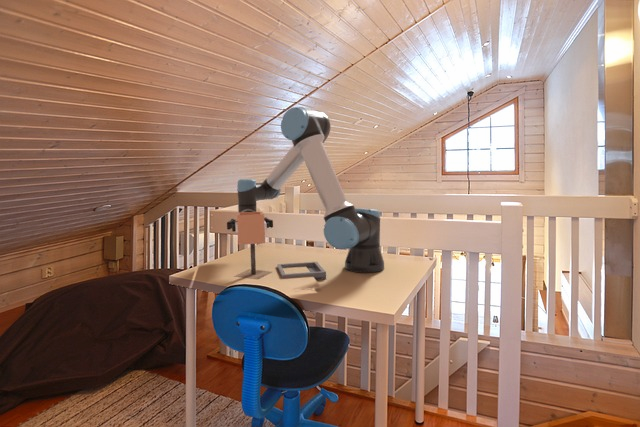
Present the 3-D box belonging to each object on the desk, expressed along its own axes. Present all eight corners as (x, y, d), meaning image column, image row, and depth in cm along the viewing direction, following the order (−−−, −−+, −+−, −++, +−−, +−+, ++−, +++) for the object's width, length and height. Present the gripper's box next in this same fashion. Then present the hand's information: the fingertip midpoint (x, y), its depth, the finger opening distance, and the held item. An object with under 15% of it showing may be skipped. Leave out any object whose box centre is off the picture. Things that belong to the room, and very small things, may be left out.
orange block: (263, 238, 146) (262, 211, 144) (265, 243, 137) (264, 214, 136) (238, 240, 144) (236, 212, 143) (238, 244, 135) (237, 215, 134)
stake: (273, 275, 144) (271, 235, 142) (258, 283, 135) (257, 241, 133) (249, 273, 148) (248, 234, 146) (233, 280, 139) (232, 239, 137)
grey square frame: (317, 267, 154) (316, 261, 154) (326, 278, 139) (326, 272, 139) (277, 270, 151) (277, 264, 151) (282, 282, 136) (282, 275, 136)
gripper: (276, 227, 160) (283, 237, 138) (220, 230, 155) (218, 240, 133) (275, 209, 159) (282, 215, 137) (219, 211, 154) (217, 218, 132)
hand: (251, 228), depth 135 cm, fingers closed on orange block, 9 cm apart
